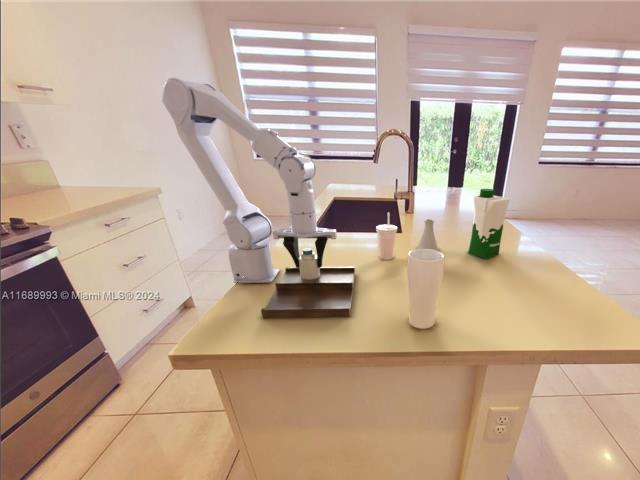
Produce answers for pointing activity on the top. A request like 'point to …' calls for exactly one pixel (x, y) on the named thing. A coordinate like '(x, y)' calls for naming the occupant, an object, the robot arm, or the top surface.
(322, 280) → the rack
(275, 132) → the robot arm
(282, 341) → the top surface
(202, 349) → the top surface
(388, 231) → the smoothie
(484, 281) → the top surface
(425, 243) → the flask
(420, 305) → the drinking glass
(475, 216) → the milk carton
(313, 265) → the bottle
